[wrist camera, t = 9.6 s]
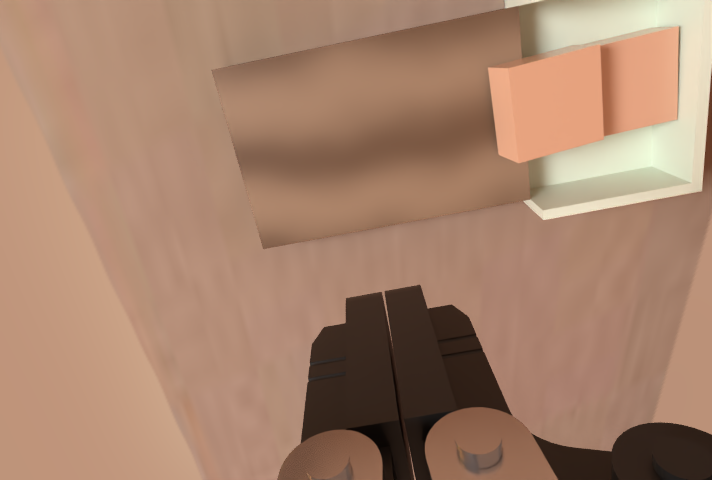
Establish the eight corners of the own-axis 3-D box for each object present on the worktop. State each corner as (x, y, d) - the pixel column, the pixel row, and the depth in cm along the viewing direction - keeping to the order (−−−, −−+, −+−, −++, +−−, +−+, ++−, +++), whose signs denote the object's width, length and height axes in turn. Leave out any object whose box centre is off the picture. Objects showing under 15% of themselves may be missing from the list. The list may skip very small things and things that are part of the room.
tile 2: (564, 48, 29) (583, 49, 26) (651, 27, 28) (678, 26, 26) (570, 132, 30) (588, 139, 28) (652, 113, 30) (677, 119, 28)
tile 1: (487, 67, 27) (508, 68, 25) (572, 45, 27) (600, 43, 25) (498, 154, 29) (518, 163, 26) (577, 133, 29) (604, 139, 27)
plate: (222, 67, 29) (211, 70, 27) (504, 8, 28) (518, 5, 26) (269, 234, 33) (263, 248, 31) (517, 188, 32) (530, 199, 30)
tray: (504, -3, 28) (531, -11, 24) (663, -37, 28) (720, -51, 23) (518, 196, 33) (543, 220, 28) (655, 171, 32) (701, 190, 28)
